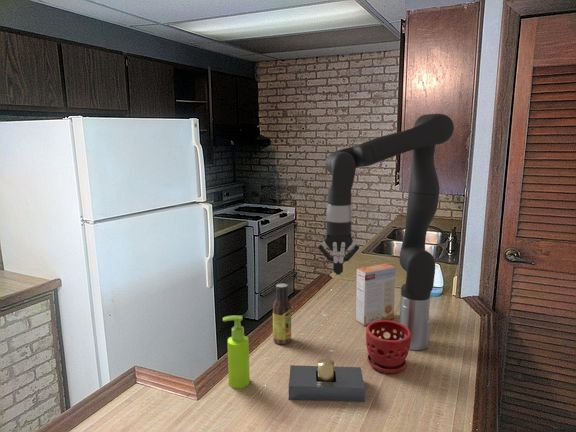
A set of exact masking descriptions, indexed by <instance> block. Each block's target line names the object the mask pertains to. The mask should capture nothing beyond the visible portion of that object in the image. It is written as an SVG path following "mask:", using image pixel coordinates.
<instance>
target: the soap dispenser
mask: <svg viewBox="0 0 576 432" xmlns="http://www.w3.org/2000/svg"><path fill="white" fill-rule="evenodd" d="M222 321H223V322H228V321H229V322H231V321H234V326H232V327H231V336H229V337H228V338H227V363H228V364H227V367H228V370H227V371H228V384H229V386H230V387H231V388H233V389H243V388H246V387H247V386H249V385H250V381H251V380H250V345H249V344H250V343H249V342H250V339H249V338H248V336H246V335H245V327H244V326H243V325H242V324H241V322H242V321H243V315H235V314H234V315H226V316H224V317H222Z"/></svg>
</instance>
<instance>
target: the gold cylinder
mask: <svg viewBox="0 0 576 432" xmlns="http://www.w3.org/2000/svg"><path fill="white" fill-rule="evenodd" d="M317 366H318V382H334V367H335V362H334V360H332V359H330V358H322V359H319V360H318V361H317Z"/></svg>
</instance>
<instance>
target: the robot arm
mask: <svg viewBox="0 0 576 432" xmlns="http://www.w3.org/2000/svg"><path fill="white" fill-rule="evenodd" d="M454 130H455V124H454V121H453V120H452V118H451V117H450V116H448V115H446V114H443V113H429V114H423V115H420V116H419V117H417V119H416V121H414V124H413V127H412V128H409V129H406V130H402V131H398V132H394V133H390V134H386V135H385V134H384V135H383V136H378V137H376V138H372V139H370V140H367V141H364V142H362V143H359V144H357V145H354V146H350V147H346V148H341V149H339V150H336V151H333V152H332V153H330V154H329V155H328V156H327V158H325V162H324V163H325V165H324V166H325V169H326V170H327V172H328V173H330V174H331V175H332V176H331V177H332V178H331V184H330V185H329V186H328V189H327V207H326V216H325V217H326V224H325V225H326V227H325V229H326V233H325V234H326V235H325V238H324V241H321V242H320V243H318V245H317V246H318V249H319V251H320V252H321V254H322V255H323V256H324V257H325V258H326V260H327V261H328V262H332V263H333V264H332V265H333V273H334V274H335V276H336V275H338V276H339V275H341V274H343V272H344V263H345V262H349V261H350V260H351V259H352V258H353V257H354V255H355V254H356V253H357V251H359V249H360V245H359V243H356V242H354V240H353V237H352V220H353V214H352V213H353V210H352V188H353V184H354V182H355V175H356V169H358V168H361V167H363V168H364V167H369V166H372V165H375V164H378V163H381V162H383V161H385V160H388V159H390V158H393V157H396V156H398V155H401V154H405V153H407V152H410V151H412V158H411V159H412V161H411V167H410V168H411V169H410V177H409V178H410V179H409V186H408V187H409V188H408V195H407V202H406V203H407V204H406V206H407V208H406V215H405V226H404V227H405V228H404V234H403V238H402V242H401V247H400V253H399V260H398V261H399V263H400V266H401V268H402V270H404V271H405V272H406V277H405V283H403V284H402V285H401V288H400V302H399V303H400V304H399V306H400V307H399V320H398V321H399V322H398V323H400V324H403V325H405V326H406V327H407V328H408V329H409V330H410V332H411V343H410V349H409V351H410V350H411V351H421V350H425V349H429V347H430V335H431V334H430V333H431V320H430V318H429V317H430V304H431V293H432V291H433V289H434V285H435V283H434V282H435V275H436V260H435V258H434V256H433V255H432V253H430V252H429V251H427V250H426V240H427V239H426V238H427V232H428V229H429V227H430V224H431V222H432V221H433V219H434V217H435V215H436V213H437V210H438V205H439V199H440V198H439V197H440V182H439V177H438V174H437V171H436V166H435V152H436V146H437V145H442V144H445V143H446V142H448V141H449V140H450V139H451V137H452V136H453V134H454ZM327 247H328V248H329V250H330V251H331V252H332V255H331V254H330V253H329V251H328V250H327ZM349 247H350V249H349ZM348 249H349V251H348ZM346 251H347V252H346ZM338 252H339V253H338ZM345 252H346V254H345ZM400 334H401V335H402V332H400ZM404 337H406V334H405V335H404ZM400 339H402V338H399V340H400Z"/></svg>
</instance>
